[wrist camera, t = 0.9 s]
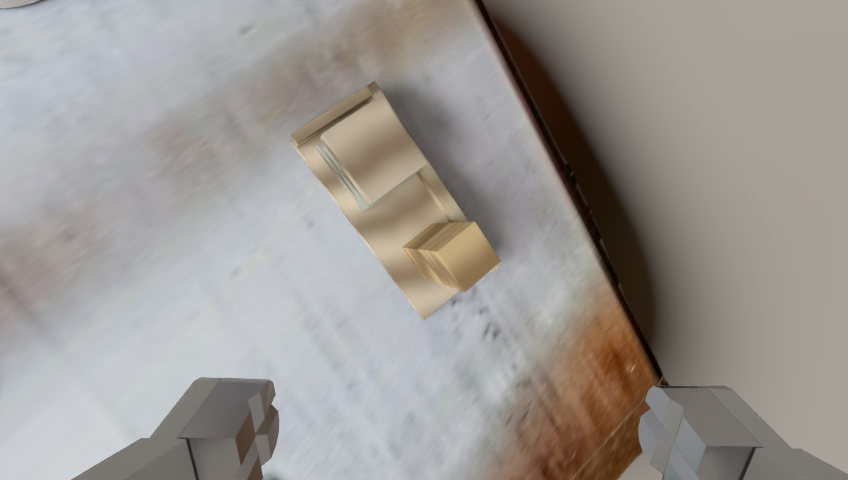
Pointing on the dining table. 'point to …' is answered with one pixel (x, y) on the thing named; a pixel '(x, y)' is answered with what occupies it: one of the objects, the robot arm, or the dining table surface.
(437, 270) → the oak post
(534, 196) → the dining table surface
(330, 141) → the offcut stack
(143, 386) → the dining table surface
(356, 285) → the dining table surface
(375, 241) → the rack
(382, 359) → the dining table surface
